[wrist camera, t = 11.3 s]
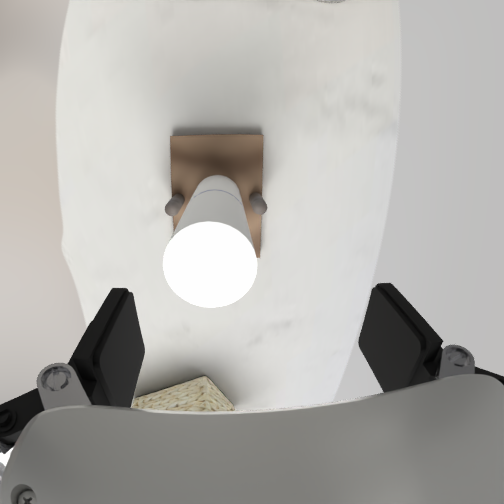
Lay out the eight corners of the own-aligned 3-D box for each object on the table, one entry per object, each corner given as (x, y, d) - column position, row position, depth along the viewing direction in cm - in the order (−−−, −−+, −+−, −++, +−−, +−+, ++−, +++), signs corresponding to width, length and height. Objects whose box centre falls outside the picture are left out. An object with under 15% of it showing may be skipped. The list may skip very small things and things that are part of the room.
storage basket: (210, 369, 60) (209, 422, 47) (242, 407, 66) (247, 455, 53) (128, 394, 62) (116, 441, 49) (166, 428, 68) (161, 471, 55)
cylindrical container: (248, 204, 46) (274, 279, 23) (210, 228, 47) (199, 321, 24) (224, 166, 43) (223, 202, 20) (185, 191, 44) (144, 254, 21)
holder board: (172, 136, 42) (162, 136, 35) (262, 134, 43) (269, 134, 36) (177, 255, 50) (170, 275, 43) (259, 254, 51) (264, 273, 44)
